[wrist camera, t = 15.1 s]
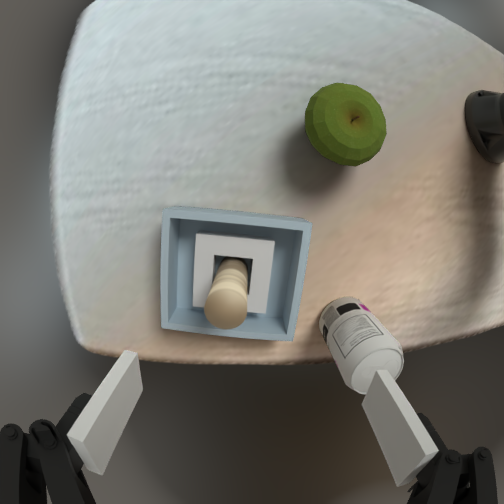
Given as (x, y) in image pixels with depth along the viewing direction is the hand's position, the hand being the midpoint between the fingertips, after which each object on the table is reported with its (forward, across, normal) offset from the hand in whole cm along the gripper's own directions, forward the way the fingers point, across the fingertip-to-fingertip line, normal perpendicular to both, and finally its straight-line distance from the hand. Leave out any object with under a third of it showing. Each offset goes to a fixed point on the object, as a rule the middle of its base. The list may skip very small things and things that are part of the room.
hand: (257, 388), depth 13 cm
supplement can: (+27, +15, -8) cm, 32 cm away
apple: (+27, +9, +20) cm, 35 cm away
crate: (+27, -3, -1) cm, 27 cm away
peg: (+26, -3, -1) cm, 26 cm away
